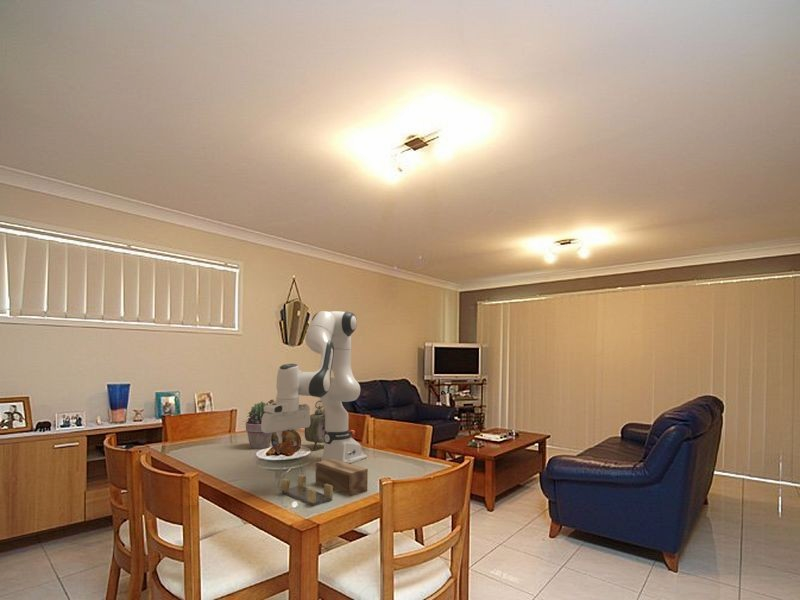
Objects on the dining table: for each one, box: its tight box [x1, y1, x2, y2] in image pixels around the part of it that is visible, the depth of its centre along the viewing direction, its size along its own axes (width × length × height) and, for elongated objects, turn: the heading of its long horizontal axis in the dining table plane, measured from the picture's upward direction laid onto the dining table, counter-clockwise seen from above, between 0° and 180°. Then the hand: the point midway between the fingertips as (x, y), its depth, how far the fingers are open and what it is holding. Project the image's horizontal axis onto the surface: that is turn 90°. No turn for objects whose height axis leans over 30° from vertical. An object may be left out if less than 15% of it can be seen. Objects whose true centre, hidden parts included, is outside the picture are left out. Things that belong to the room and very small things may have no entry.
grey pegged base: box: [280, 474, 334, 507], centre depth 164 cm, size 8×20×5 cm, turn 46°
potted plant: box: [241, 399, 275, 450], centre depth 243 cm, size 18×20×25 cm
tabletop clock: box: [304, 400, 325, 451], centre depth 242 cm, size 14×9×25 cm, turn 149°
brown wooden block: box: [314, 459, 369, 496], centre depth 175 cm, size 8×22×8 cm, turn 46°
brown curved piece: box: [270, 430, 302, 455], centre depth 175 cm, size 15×3×8 cm, turn 55°
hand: (286, 442), depth 175 cm, fingers closed on brown curved piece, 3 cm apart
